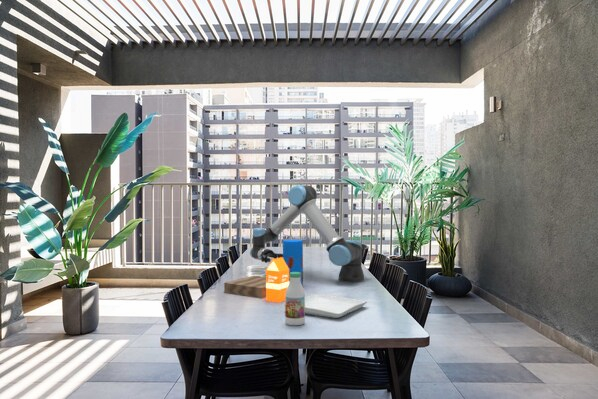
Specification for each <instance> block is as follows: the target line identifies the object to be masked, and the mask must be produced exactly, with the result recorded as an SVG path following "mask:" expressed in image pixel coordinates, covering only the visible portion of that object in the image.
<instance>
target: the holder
mask: <svg viewBox="0 0 598 399" xmlns="http://www.w3.org/2000/svg"><path fill="white" fill-rule="evenodd" d="M268 266H269V265H248V266H247V267H246V271H245V278H246V277H250V276H260V277H266V270H267V268H268Z"/></svg>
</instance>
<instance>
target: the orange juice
mask: <svg viewBox="0 0 598 399" xmlns="http://www.w3.org/2000/svg"><path fill="white" fill-rule="evenodd" d="M267 266H268V268H267V270H266V297H265V301H266V302H273V303H282V302H285V297H286V290H287V287H288V285H289V268H288V266H287V265H286V263H285V261H284V259H283V257H280V258H278V257H277V258H276V259H273V260H272V261H271V262H269V264H268V265H267Z"/></svg>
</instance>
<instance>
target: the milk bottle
mask: <svg viewBox="0 0 598 399" xmlns="http://www.w3.org/2000/svg"><path fill="white" fill-rule="evenodd" d="M289 278H290V282H289V285H288V287H287V290H286V297H285V301H284V303H285V304H284V306H285V308H284V310H285V312H284V314H285V315H284V316H285V317H284V320H285V324H286V325H288V326H301V325H303V324H305V323H306V314H305V297H306V296H305V289H304V287H303V286H302V284H301V281H300V278H301V273H300V272H290V273H289Z"/></svg>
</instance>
